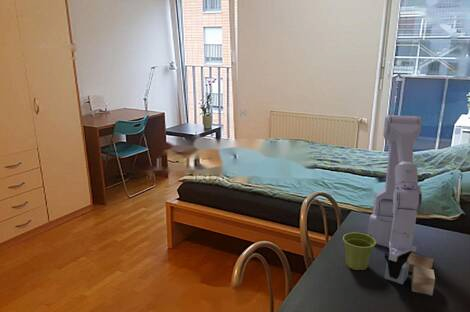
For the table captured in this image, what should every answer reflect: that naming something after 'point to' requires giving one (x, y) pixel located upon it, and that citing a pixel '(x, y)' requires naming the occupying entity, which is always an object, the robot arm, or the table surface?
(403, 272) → the grey cube
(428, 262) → the oak block
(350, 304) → the table surface
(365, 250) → the plant pot
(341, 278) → the table surface
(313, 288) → the table surface
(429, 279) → the beech cube
